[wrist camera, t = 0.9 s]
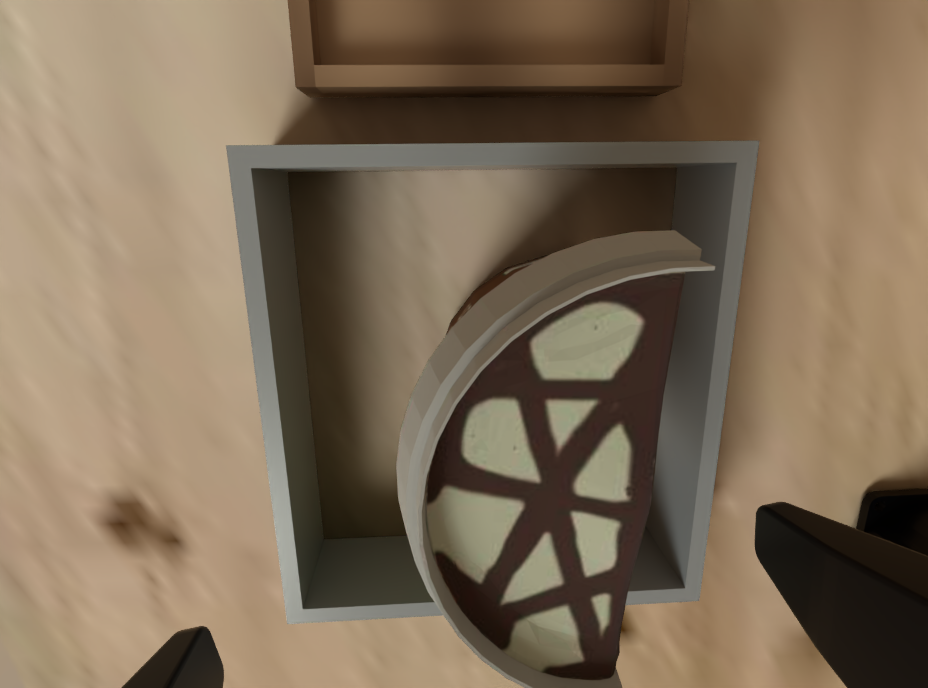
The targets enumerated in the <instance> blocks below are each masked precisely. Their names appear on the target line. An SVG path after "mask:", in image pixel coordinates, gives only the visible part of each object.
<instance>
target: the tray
mask: <svg viewBox="0 0 928 688" xmlns="http://www.w3.org/2000/svg"><path fill="white" fill-rule="evenodd" d="M688 7H689V0H288V8H289V19H290V30H291V41H292V52H293V63H294V74H295V85H296V88H298V89H299V90H300V91H302V92H303V93H304V94H306V95H307V96H309V97H517V96H657V95H659V94H662V93H664V92H667V91H669V90H672V89H674V88H677V87H679V86H681V84H682V73H683V62H684V51H685V40H686V29H687V18H688Z"/></svg>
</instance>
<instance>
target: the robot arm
mask: <svg viewBox="0 0 928 688" xmlns="http://www.w3.org/2000/svg"><path fill="white" fill-rule="evenodd" d="M876 503H877V504H876ZM755 551H756V554H757V557H758V559H759V561H760V563H761V564H762V566H763V567H764V569H765V570H766V572H767V574H768V575H769V577H770V578H771V580H772V581H773V583H774V584H775V586H776V587H777V589H778V590H779V592H780V594H781V595H782V597H783V598H784V600H785V601H786V603H787V604H788V606H789V607H790V609H791V610H792V612H793V614H794V615H795V617H796V618H797V620H798V621H799V623H800V624H801V626H802V627H803V629H804V630H805V632H806V634H807V635H808V636H809V638H810V639H811V641H812V642H813V644H814V645H815V647H816V648H817V649H818V651H819V652H820V653H821V655H822V656H823V657H824V659H825V660H826V661H827V663H828V664H829V665H830V666H831V668H832V669H833V670H834V672H835V673H836V674H837V675H838V677H839V678H840V679H841V680H842V682H843V683H844V684H845V686H846V687H847V688H928V489H914V490H892V491H874V492H870V493H869V494H867V495H866V496H865V497H864V499H863V501H862V505H861V510H860V514H859V519H858V523H857V528H856V529H855V528H852V527H850V526H847V525H844V524H842V523H839V522H836V521H834V520H831V519H828V518H826V517H823V516H820V515H818V514H815V513H812V512H810V511H807V510H805V509H802V508H799V507H797V506H794V505H791V504H789V503H786V502H776V503H772V504H767V505H762V506H760V507H759V508H758V510H757V512H756V526H755ZM223 682H224V669H223V664H222V661H221V659H220V656H219V653H218V651H217V648H216V646H215V643H214V640H213V638H212V635H211V633H210V631H209V629H208V628H207V627H204V626H199V627H194V628H190V629H185V630H181V631H178V632H177V633H175V634H174V635H173V636H172V637H171V638H170V639H169V640H168V641H167V642H166V643H165V644H164V645H163V646H162V647H161V648H160V649H159V650H158V651H157V652H156V653H155V654H154V655H153V656H152V657H151V658H150V659H149V660H148V661H147V662H146V663H145V664H144V665H143V666H142V667H141V668H140V669H139V670H138V671H137V672H136V673H135V674H134V675H133V676H132V677H131V678H130V680H129V681H128V682H127V683H126V684H125V685H124V686H123V687H122V688H223Z"/></svg>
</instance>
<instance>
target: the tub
mask: <svg viewBox="0 0 928 688" xmlns="http://www.w3.org/2000/svg"><path fill="white" fill-rule="evenodd" d="M758 148H759V141H659V142H551V143H443V144H335V145H227V146H226V149H227V156H228V164H229V172H230V180H231V188H232V195H233V203H234V211H235V219H236V227H237V235H238V242H239V250H240V258H241V266H242V274H243V281H244V289H245V297H246V305H247V313H248V321H249V328H250V336H251V344H252V352H253V360H254V367H255V375H256V383H257V391H258V399H259V406H260V414H261V422H262V430H263V438H264V446H265V453H266V461H267V469H268V477H269V485H270V492H271V500H272V508H273V516H274V524H275V531H276V539H277V547H278V555H279V563H280V571H281V578H282V586H283V594H284V602H285V610H286V617H287V624H298V623H315V622H333V621H351V620H369V619H386V618H404V617H422V616H440V615H443V614H442V612H441V611H440V609H439V608H438V606H437V605H436V604H435V602H434V601H433V599H432V598H431V596H430V595H429V593H428V591H427V589H426V586H425V584H424V582H423V580H422V577H421V575H420V573H419V570H418V568H417V566H416V563H415V561H414V557H413V554H412V550H411V547H410V543H409V540H408V536H407V535H406V536H385V537H364V538H344V539H324V536H323V526H322V516H321V506H320V496H319V486H318V476H317V466H316V456H315V446H314V436H313V426H312V416H311V406H310V396H309V386H308V376H307V366H306V356H305V346H304V335H303V325H302V315H301V305H300V295H299V285H298V275H297V265H296V255H295V245H294V235H293V225H292V215H291V205H290V195H289V185H288V175H287V172H330V171H414V170H498V169H582V168H666V167H677V175H676V185H675V196H674V207H673V218H672V229H671V230H675V231H677V232H678V233H679V234H681V235H682V236H684V237H685V238H686V239H688V240H689V241H691V242H692V243H694V244H695V245H696V246H698V247H699V248H701V249H702V251H701V256H700V261H703V262H706V263H708V264H711V265H713V266H715V270H712V271H684V272H686V273H685V278H684V284H683V289H682V295H681V300H680V306H679V311H678V317H677V322H676V328H675V333H674V339H673V345H672V350H671V356H670V362H669V367H668V373H667V379H666V384H665V390H664V396H663V404H662V412H661V420H660V428H659V436H658V444H657V455H656V465H655V474H654V483H653V491H652V499H651V505H650V510H649V514H648V517H647V521H646V525H645V529H644V533H643V537H642V541H641V544H640V548H639V551H638V555H637V558H636V562H635V565H634V568H633V573H632V577H631V581H630V585H629V589H628V594H627V599H626V604H625V605H635V604H653V603H670V602H688V601H699V598H700V591H701V583H702V575H703V568H704V560H705V552H706V545H707V537H708V530H709V522H710V514H711V507H712V499H713V491H714V484H715V476H716V469H717V461H718V453H719V446H720V438H721V430H722V423H723V415H724V408H725V400H726V392H727V385H728V377H729V369H730V362H731V354H732V346H733V339H734V331H735V324H736V316H737V308H738V301H739V293H740V285H741V278H742V270H743V263H744V255H745V247H746V240H747V232H748V224H749V217H750V209H751V202H752V194H753V186H754V179H755V171H756V163H757V156H758Z"/></svg>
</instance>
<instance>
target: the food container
mask: <svg viewBox="0 0 928 688" xmlns="http://www.w3.org/2000/svg"><path fill="white" fill-rule="evenodd" d="M701 251H702V249H701V248H699V247H698V246H696V245H695V244H694V243H692V242H691V241H689V240H688V239H686V238H685V237H684V236H682V235H681V234H679V233H678V232H677V231H675V230H671V231H636V232H630V233H624V234H619V235H613V236H608V237H602V238H597V239H592V240H589V241H586V242H584V243H581V244H578V245H575V246H572V247H569V248H566V249H563V250H561V251H558V252H555V253H552V254H550V255H546V256H543V257H540V258H536V259H533V260H530V261H527V262H524V263H521V264H517V265H514V266H511V267H508V268H506V269H505V270H503V271H502V272H500V273H499V274H497V275H496V276H495V277H493V278H492V279H490V280H489V281H487V282H486V283H485V284H483V285H482V286H480V287H479V288H477V289H476V290H475V291H474V292H473V293H472V294H471V296H470V297H469V298H468V300H467V301H466V302H465V304H464V305H463V306H462V307H461V309H460V310H459V311H458V313H457V314H456V315H455V317H454V318H453V319H452V321H451V323H450V325H449V328H448V331H447V334H446V336H445V338H444V339H443V341H442V342H441V343H440V345H439V346H438V348H437V349H436V350H435V352H434V353H433V354H432V356H431V357H430V359H429V360H428V362H427V364H426V366H425V368H424V370H423V372H422V374H421V376H420V378H419V380H418V382H417V384H416V386H415V388H414V390H413V392H412V394H411V397H410V400H409V404H408V407H407V410H406V414H405V417H404V420H403V423H402V427H401V430H400V438H399V447H398V455H397V463H396V469H397V487H398V500H399V504H400V508H401V513H402V517H403V521H404V525H405V529H406V533H407V536H408V540H409V543H410V547H411V550H412V554H413V557H414V561H415V563H416V566H417V568H418V570H419V573H420V575H421V577H422V580H423V582H424V584H425V586H426V589H427V591H428V593H429V595H430V596H431V598H432V599H433V601H434V602H435V604H436V605H437V606H438V608H439V609H440V611H441V612H442V614H443V615H444V617H445V618H446V620H447V621H448V622H449V623H450V625H451V626H452V628H453V629H454V631H455V632H456V634H457V635H458V637H459V638H460V639H461V640H462V641H463V642H464V643H465V644H466V645H467V646H468V647H469V648H470V649H471V650H472V651H473V652H474V653H475V654H476V655H477V656H478V657H479V658H480V659H481V660H482V661H484V662H485V663H486V664H488V665H489V666H490V667H492V668H493V669H495V670H496V671H497V672H499V673H500V674H501V675H503V676H504V677H505V678H507V679H509V680H511V681H513V682H515V683H517V684H519V685H521V686H523V687H525V688H622V685H621V682H620V679H619V676H618V673H617V670H616V661H617V658H618V656H619V641H620V633H621V625H622V620H623V615H624V610H625V604H626V599H627V594H628V589H629V585H630V581H631V577H632V573H633V568H634V565H635V562H636V558H637V555H638V551H639V548H640V544H641V541H642V537H643V533H644V529H645V525H646V521H647V517H648V514H649V510H650V505H651V499H652V491H653V483H654V474H655V465H656V455H657V444H658V436H659V428H660V420H661V412H662V404H663V396H664V390H665V384H666V379H667V373H668V367H669V362H670V356H671V350H672V345H673V339H674V333H675V328H676V322H677V317H678V311H679V306H680V300H681V295H682V289H683V284H684V278H685V273H686V272H684V271H712V270H715V266H713V265H711V264H708V263H706V262H703V261H700V256H701Z"/></svg>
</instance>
